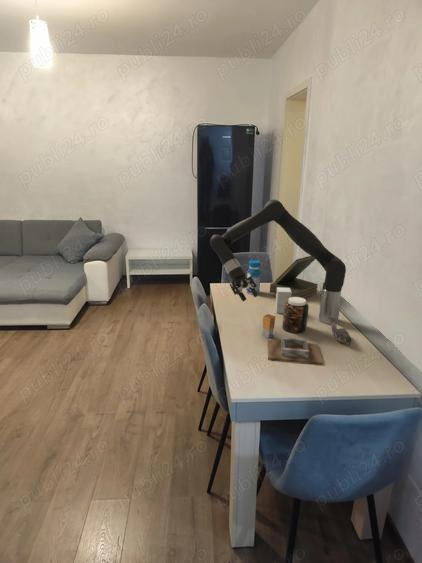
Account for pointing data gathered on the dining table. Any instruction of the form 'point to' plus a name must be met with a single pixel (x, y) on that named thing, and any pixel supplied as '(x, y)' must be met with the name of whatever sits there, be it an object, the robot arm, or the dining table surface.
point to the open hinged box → (296, 279)
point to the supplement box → (282, 298)
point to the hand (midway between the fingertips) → (250, 298)
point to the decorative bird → (339, 332)
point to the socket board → (294, 351)
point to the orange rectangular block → (268, 326)
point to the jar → (295, 315)
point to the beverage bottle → (254, 274)
